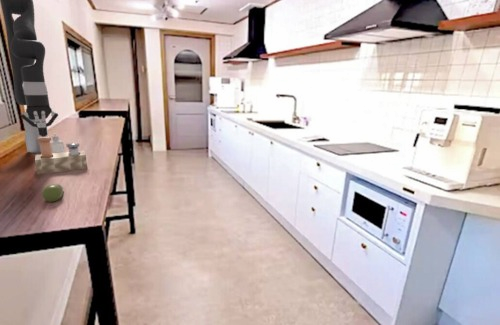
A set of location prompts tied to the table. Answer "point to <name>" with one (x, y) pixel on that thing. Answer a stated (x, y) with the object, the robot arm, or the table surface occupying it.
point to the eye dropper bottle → (57, 145)
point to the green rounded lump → (52, 192)
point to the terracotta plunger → (45, 146)
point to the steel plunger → (73, 148)
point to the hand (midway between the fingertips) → (43, 136)
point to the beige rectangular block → (60, 162)
